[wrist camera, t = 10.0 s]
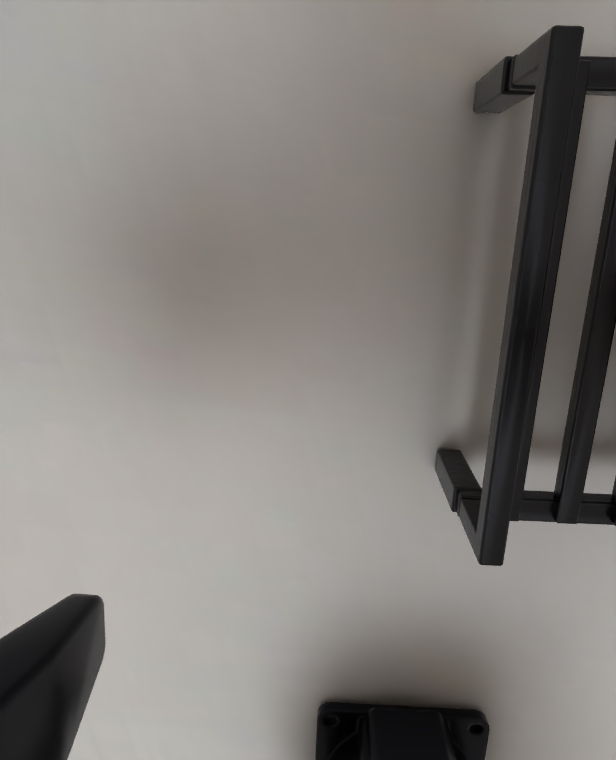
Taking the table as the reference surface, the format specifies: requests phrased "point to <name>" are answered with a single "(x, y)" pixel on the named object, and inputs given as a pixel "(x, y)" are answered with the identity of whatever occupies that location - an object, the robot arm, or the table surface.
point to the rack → (542, 304)
